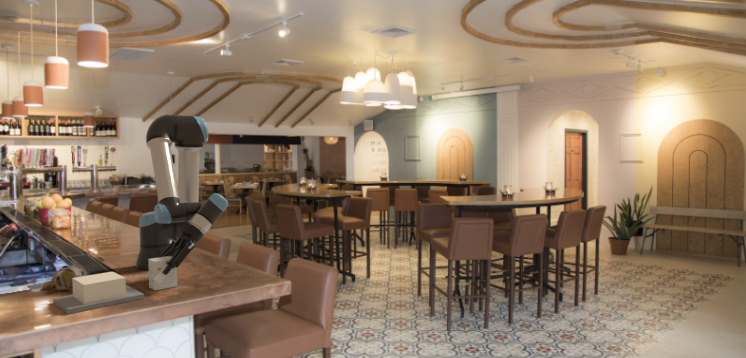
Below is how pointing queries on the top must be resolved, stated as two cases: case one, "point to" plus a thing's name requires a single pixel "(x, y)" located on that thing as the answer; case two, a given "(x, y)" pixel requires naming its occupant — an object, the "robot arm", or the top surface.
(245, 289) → the top surface
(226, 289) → the top surface
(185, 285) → the top surface
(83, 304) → the pedestal
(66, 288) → the ceramic sculpture
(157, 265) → the small box
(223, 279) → the top surface
